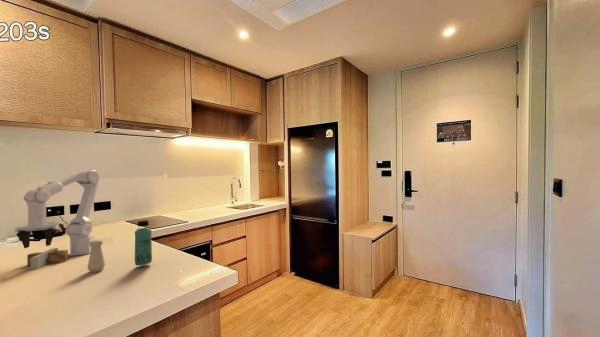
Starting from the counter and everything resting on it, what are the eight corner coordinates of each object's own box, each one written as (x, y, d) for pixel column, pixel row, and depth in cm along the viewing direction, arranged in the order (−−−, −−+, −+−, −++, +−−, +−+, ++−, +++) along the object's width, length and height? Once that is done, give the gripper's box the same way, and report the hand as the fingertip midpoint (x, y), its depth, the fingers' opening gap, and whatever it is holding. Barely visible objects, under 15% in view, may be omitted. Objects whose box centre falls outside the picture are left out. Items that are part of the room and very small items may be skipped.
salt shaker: (95, 274, 104) (94, 242, 104) (83, 273, 105) (83, 241, 105) (108, 268, 110) (108, 238, 110) (97, 268, 111) (97, 238, 111)
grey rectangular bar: (51, 258, 126) (51, 248, 126) (58, 258, 127) (57, 248, 127) (30, 269, 112) (30, 258, 112) (37, 268, 112) (37, 257, 112)
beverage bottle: (131, 267, 110) (130, 221, 110) (146, 262, 116) (146, 218, 116) (140, 270, 107) (139, 222, 107) (155, 264, 113) (154, 219, 113)
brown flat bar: (68, 259, 123) (68, 249, 123) (65, 261, 121) (65, 251, 121) (31, 264, 119) (31, 253, 119) (27, 265, 116) (27, 254, 116)
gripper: (9, 219, 108) (9, 251, 108) (52, 216, 113) (52, 246, 113) (21, 216, 115) (21, 246, 115) (61, 214, 120) (61, 242, 120)
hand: (37, 246), depth 114 cm, fingers open, 7 cm apart
